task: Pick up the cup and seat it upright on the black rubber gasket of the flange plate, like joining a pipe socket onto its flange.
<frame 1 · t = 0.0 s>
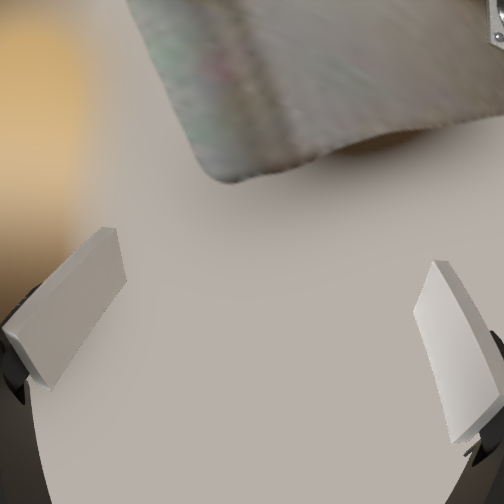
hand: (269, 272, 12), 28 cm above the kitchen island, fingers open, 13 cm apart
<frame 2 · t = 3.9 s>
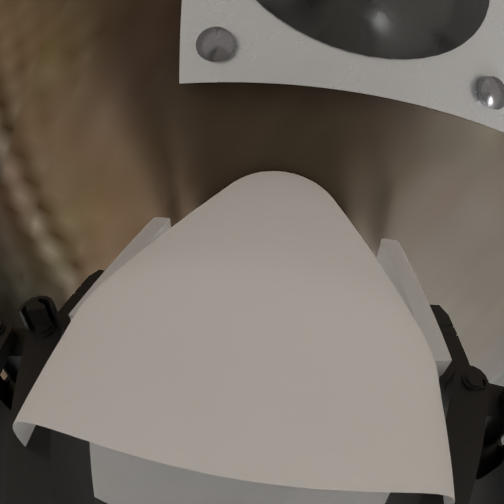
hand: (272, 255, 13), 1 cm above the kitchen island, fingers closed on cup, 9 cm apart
cup: (275, 237, 15), on the kitchen island, touching gripper
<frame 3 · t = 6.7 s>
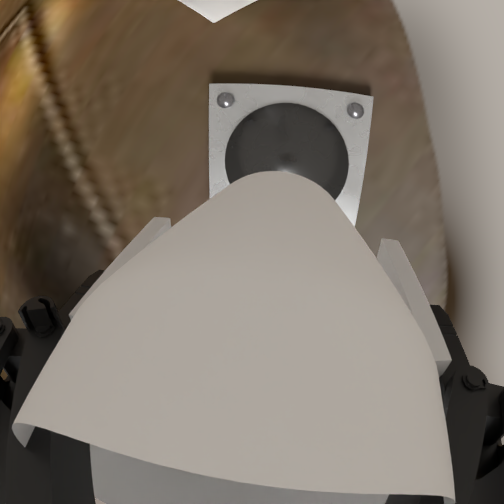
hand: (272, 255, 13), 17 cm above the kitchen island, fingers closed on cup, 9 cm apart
flange: (287, 161, 27), on the kitchen island
cup: (275, 237, 15), point 15 cm above the kitchen island, touching gripper
when the fingers open (4 cm above the kitchen island, at t = 9.4 s): cup drops 1 cm, resting on flange.
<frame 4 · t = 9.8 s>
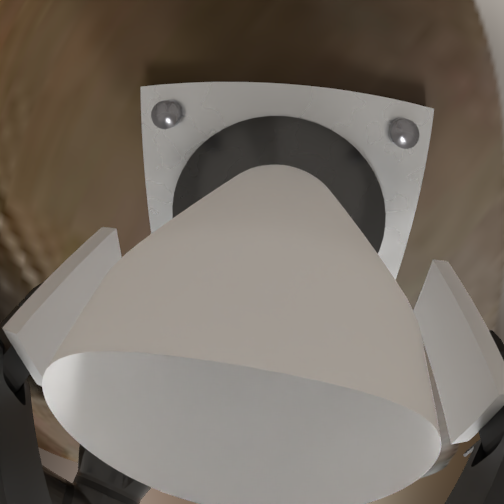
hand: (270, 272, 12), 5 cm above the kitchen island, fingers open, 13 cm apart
flange: (278, 217, 17), on the kitchen island
cup: (276, 226, 16), point 1 cm above the kitchen island, touching flange
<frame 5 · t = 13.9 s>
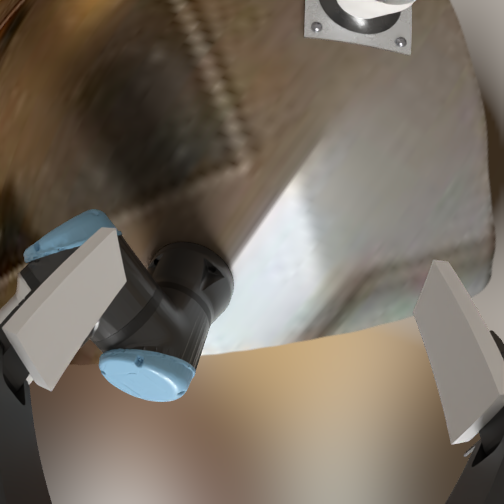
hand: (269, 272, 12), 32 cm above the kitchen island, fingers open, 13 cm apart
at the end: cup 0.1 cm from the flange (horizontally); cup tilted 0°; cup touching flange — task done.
